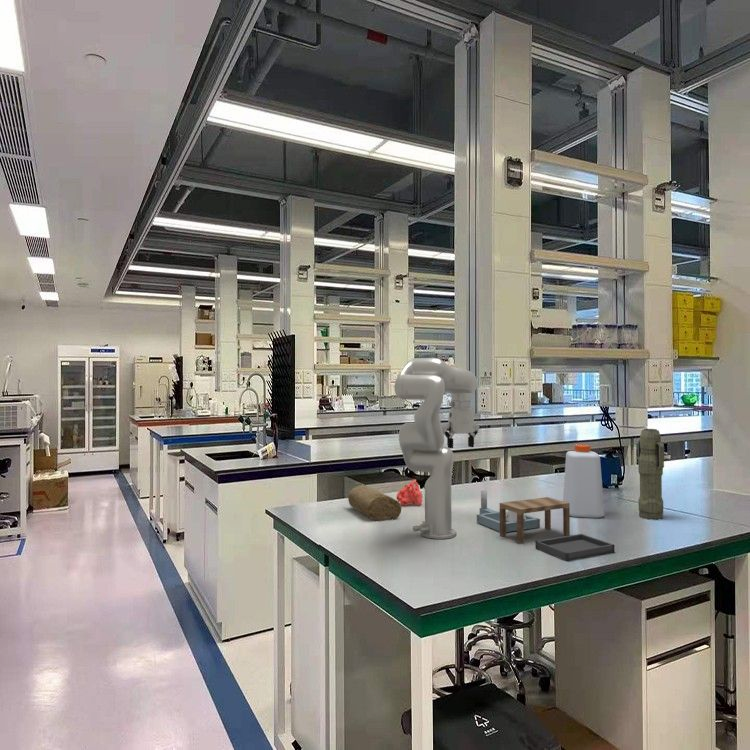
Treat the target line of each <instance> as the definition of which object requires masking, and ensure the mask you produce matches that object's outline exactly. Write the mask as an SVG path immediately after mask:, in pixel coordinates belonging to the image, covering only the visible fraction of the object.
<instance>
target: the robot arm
mask: <svg viewBox="0 0 750 750" xmlns="http://www.w3.org/2000/svg"><path fill="white" fill-rule="evenodd" d="M393 388H394V392H395V395H396V397H397V398H398V399H400V400H404V401H405V400H406V401H407V400H413V401H414V400H415V401H417V400H419V401H421V400H422V401H423V403H422V404H420V406H419V407H418V408H417V409H416V411H415V413H414V415H413V418H414V422H406V423H404V424H402V425H401V427H400V428H399V432H398V443H399V446H400V447H399V448H400V450H401V453H402V456H403V460H404V462H405V465H406V467H407V468H408V470H409V471H411V472H420V473H421V472H422V473H430V476H429V477H428V479H427V480H426V481H425V484H424V521H421V524H420V525H419V524H418V525H413V526H412V531H413V532H420V535H421V536H422V537H425V538H427V539H432V540H433V539H434V540H447V539H451V538H454V537H456V536H457V532H456V530H455V529H453V527H452V525H453V524H452V517H453V516H452V475H453V468H454V460H455V456H454V452H453V450H452V449H453V448H454V438H453V437H454V435H455V434H459V435H461V434H467V435H468V437H467V446H468V447H469V448H474V447H475V438H476V435H478V433H479V430H480V425H478V424H476V423H475V417H474V412H473V408H471V394H474V392H476V391H477V388H478V380H477V377H476V375H475V374H474V373H473V372H472V371H470V370H468V369H464V368H460V367H456V366H453V365H449V364H448V363H446V362H445V361H444V360H442V359H440V358H436V357H418V358H417V357H415V358H412V359H410V360H409V361H408V362H406V363H405V365H404V366H403V368H402V369H401V371H400V372H399V374H398V375H397V377H396V379H395V382H394V387H393ZM446 393H447V394H451V397H450V398H451V401H450V402H449V403H448V406H449V407H451V408H449V412H448V413H449V414H448V422H447V424H444V425H443V426H442V421H441V418H440V411H441V407H442V404H443V400H444V396H445V394H446ZM447 430H448V431H447ZM445 438H447V439H446V441H447V444H446V445H447V446H444V445H445Z"/></svg>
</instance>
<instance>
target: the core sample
mask: <svg viewBox="0 0 750 750" xmlns="http://www.w3.org/2000/svg"><path fill="white" fill-rule="evenodd" d="M347 498H348V499H347V500H348V503H349V505H350V507H351V508H353V509H354V510H356V511H358V512H359V513H361V514H363V515H364V516H366V517H368V518H370V519H372V520H373V521H376V522H378V521H382V522H383V521H393V520H396V519H397V518H398V517H400V515H401V514H402V505H401V504H400V502H398V500H397V499H395V498H393V497H392V496H389V495H387V494H385V493H383V492H381V491H379V490H378V489H375V488H372V487H371V486H368V485H365V484H364V485H362V484H359V485H358V486H355V487H353V488H351V490H350V491H349V493H348V495H347ZM392 519H393V520H392Z"/></svg>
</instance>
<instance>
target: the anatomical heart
mask: <svg viewBox="0 0 750 750" xmlns="http://www.w3.org/2000/svg"><path fill="white" fill-rule="evenodd" d="M396 500H397V501H398V502H399V503H400V504H401V507H402V506H408V505H410V504H413V505H415V504H417V507H420V506H422V504H423V492H422V491H421V490H420V485H419V483H418V482H417V479H411V481H410V483H408V484H407V483H406V484H404V487H402V488H400V489H399V491H398V492H397V493H396Z"/></svg>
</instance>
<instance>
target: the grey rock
mask: <svg viewBox="0 0 750 750" xmlns="http://www.w3.org/2000/svg"><path fill="white" fill-rule="evenodd" d="M524 514H525V513H524ZM524 514H523V521H524V520H526V517H525V515H524ZM506 522H517V513H515V512H512V511H509V510H506Z"/></svg>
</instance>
